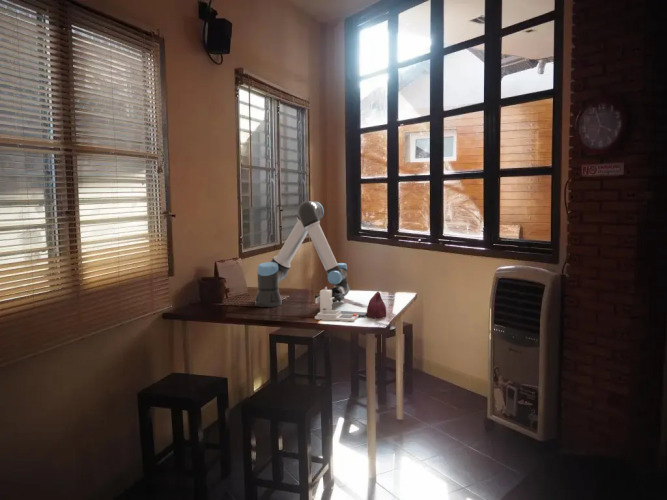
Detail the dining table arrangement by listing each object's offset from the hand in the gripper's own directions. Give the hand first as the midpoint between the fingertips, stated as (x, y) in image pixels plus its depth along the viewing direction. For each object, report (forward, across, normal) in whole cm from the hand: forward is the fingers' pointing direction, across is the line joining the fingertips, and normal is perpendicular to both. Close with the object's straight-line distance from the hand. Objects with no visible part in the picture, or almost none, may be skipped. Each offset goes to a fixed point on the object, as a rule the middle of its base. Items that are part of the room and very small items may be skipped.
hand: (323, 301), depth 263 cm
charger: (-5, 0, -7) cm, 9 cm away
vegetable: (-5, -27, -7) cm, 28 cm away
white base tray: (+5, -9, -7) cm, 12 cm away
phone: (-4, -15, -7) cm, 17 cm away
